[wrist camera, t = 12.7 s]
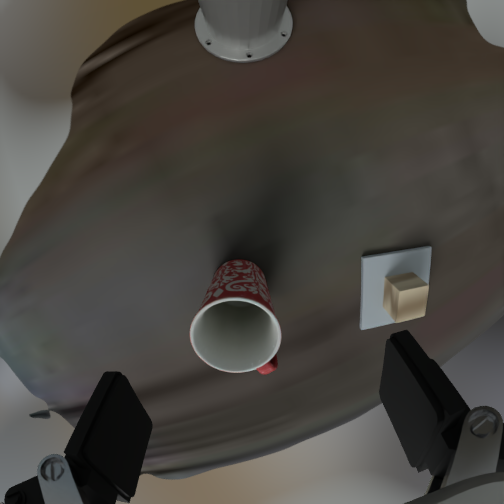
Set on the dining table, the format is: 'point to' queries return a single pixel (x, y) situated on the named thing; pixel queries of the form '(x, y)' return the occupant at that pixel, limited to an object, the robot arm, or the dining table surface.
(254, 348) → the mug
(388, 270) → the pad
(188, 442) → the dining table surface
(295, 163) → the dining table surface
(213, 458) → the dining table surface
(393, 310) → the maple block
